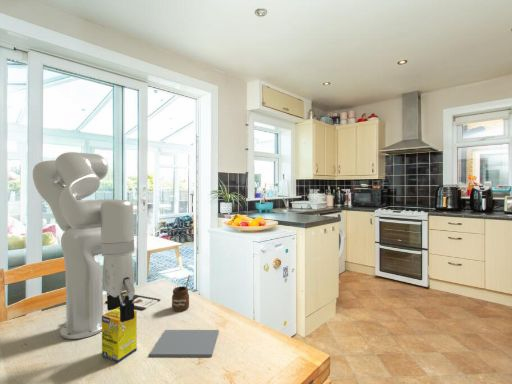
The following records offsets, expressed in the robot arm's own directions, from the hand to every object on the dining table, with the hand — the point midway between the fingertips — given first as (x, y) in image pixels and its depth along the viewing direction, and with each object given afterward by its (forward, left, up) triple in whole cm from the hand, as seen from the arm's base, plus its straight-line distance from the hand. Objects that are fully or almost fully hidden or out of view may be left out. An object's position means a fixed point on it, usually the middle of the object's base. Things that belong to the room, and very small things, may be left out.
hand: (120, 314), depth 72 cm
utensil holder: (-14, +25, -11) cm, 30 cm away
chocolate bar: (-32, +15, -11) cm, 37 cm away
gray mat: (+7, +15, -11) cm, 20 cm away
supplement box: (-1, 0, -11) cm, 11 cm away
